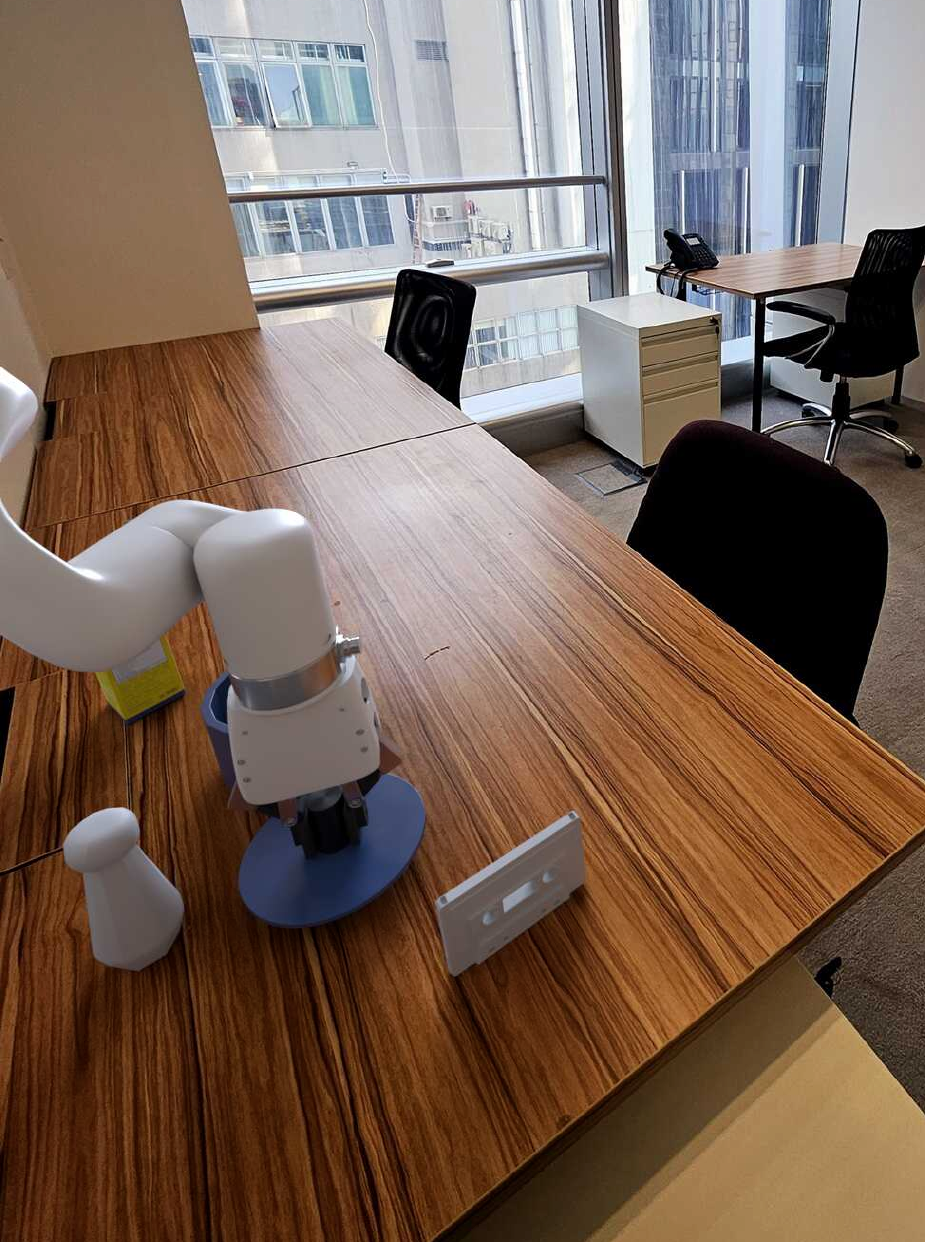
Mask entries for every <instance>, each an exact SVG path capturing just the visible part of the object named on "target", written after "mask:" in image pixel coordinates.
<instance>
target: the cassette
mask: <svg viewBox="0 0 925 1242" xmlns="http://www.w3.org/2000/svg"><path fill="white" fill-rule="evenodd" d="M583 841H584V840H583V830H582V820H581V818H580V816H579V815H578V814H577V812H576V811H574V810H571V811H570V812H568V813H567V814H565V815H563V816H562V817H561V818H559V819H557V820H556V821H555V822H553V823H551V824H550V825H549V826H547V827H545V828H544V829H542V830H541V831H539V832H538V833H536V834H534V835H533V836H532V837H529V838H528V839H527V840H525V841H524V842H522V843H521V844H519V845H518V846H516V847H515V848H513V849H512V850H510V851H508V852H507V853H506V854H504V855H502V856H500V857H499V858H498V859H496V860H495V861H492V863H490V864H488V865H487V866H486V867H484V868H483V869H481V870H480V871H478V872H476V873H475V874H473V875H472V876H470V877H468V879H466V880H465V881H462V882H461V883H459V884H457V886H455V887H454V888H452V889H451V890H448V891H447V892H446V893H444V894H443V895H440V896H439V897H438V898H437V899H436V900H435V903H434V905H435V911H436V916H437V920H438V926H439V929H440V935H441V939H442V944H443V950H444V954H445V961H446V965H447V970H448V972H449V974H451V975H452V977H457V976H459V975H460V974H461V973H463V972H464V971H465V970H467V969H468V968H469V967H471V966H472V965H475V964H476V965H478V966H479V965H480V964H482V963H484V962H485V961H486V960H487V959H489V958H490V957H492V955H494V954H495V953H497V952H498V951H500V950H501V949H502V948H503V947H505V946H506V945H508V944H509V943H511V942H512V941H513V940H514V939H516V938H517V937H518V936H520V935H521V934H523V933H524V932H525V931H527V930H528V929H529V928H531V927H532V926H534V925H535V924H536V923H537V922H539V921H540V920H542V919H543V918H544V917H546V916H547V915H549V914H550V913H551V912H552V911H554V910H555V909H557V908H558V907H559V906H561V905H562V904H564V903H565V902H566V901H568V900H569V899H570V898H571V896H570V894H571V893H573V892H574V891H575V890H576V889H578V888H579V887H580V886H582V885H583V884H584V883H585V882H586V880H587V873H586V864H585V863H586V861H585V852H584V842H583Z"/></svg>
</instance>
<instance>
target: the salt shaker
mask: <svg viewBox="0 0 925 1242" xmlns="http://www.w3.org/2000/svg"><path fill="white" fill-rule="evenodd" d="M140 833H141V830H140V827H139V823H138V820H137V817H136V815H135V814H134V812H133V811H132V810H130V809H127V808H126V807H124V806H123V807H111V808H110V807H109V808H104V809H102V810H99V811H97V812H93V813H91V814H90V815H89V816H87V817H85V818H84V819H82V820H81V821H80V822H79V823H77V825H76V826H74V827H73V828H72V829H71V830H70V831H69V832H68V834H67V836H66V838H65V839H64V841H63V843H62V850H63V855H64V862H65V863H66V865H67V866H68V868H70V869H72V870H74V871H75V872H77V873H80V874H82V878H83V885H84V893H85V901H86V908H87V916H88V924H89V931H90V939H91V947H92V954H93V957H94V959H96V960H97V961H98V962H100V963H102V964H104V965H106V966H108V967H110V968H117V969H121V970H129V971H134V972H140V971H141V970H143V969H145V968H146V967H148V966H149V965H152V964H153V963H154V962H156V961H158V960H159V959H161V958H163V957H164V956H166V955H167V954H168V952H169V951H170V949H171V947H172V945H173V943H174V942H175V940H176V939H177V936H178V935H179V933H180V931H181V926H182V922H183V917H184V913H185V907H184V902H183V899H182V896H181V893H180V892H179V891H178V889H177V888H176V887H175V886H174V885H173V884H172V882H170V880H169V879H168V878H167V877H166V876H165V875H164V874H163V872H162V871H161V870H160V869H159V868H158V867H157V866H156V865H155V864H154V862H153V861H152V860H151V859H150V858H149V857H148V856H147V855H146V854H145V852H144V851H143V850H142V849H141V847H139V846H138V845H137V841H138V839H139V837H140Z"/></svg>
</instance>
